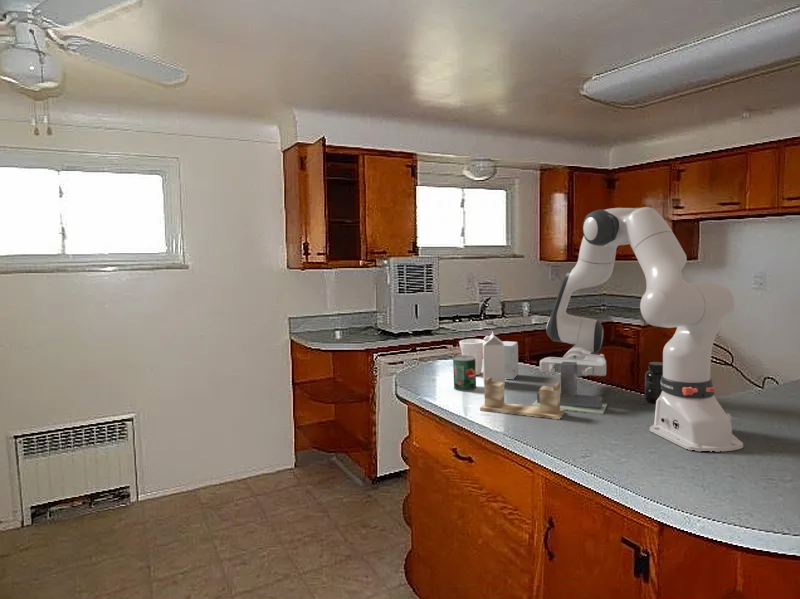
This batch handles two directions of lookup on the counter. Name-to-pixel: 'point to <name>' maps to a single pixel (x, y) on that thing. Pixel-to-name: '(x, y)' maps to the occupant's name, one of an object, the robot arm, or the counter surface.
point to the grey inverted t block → (574, 389)
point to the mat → (579, 408)
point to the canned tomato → (464, 373)
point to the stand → (546, 409)
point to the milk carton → (493, 358)
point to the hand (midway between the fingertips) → (568, 372)
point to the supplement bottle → (653, 382)
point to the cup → (473, 351)
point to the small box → (510, 359)
